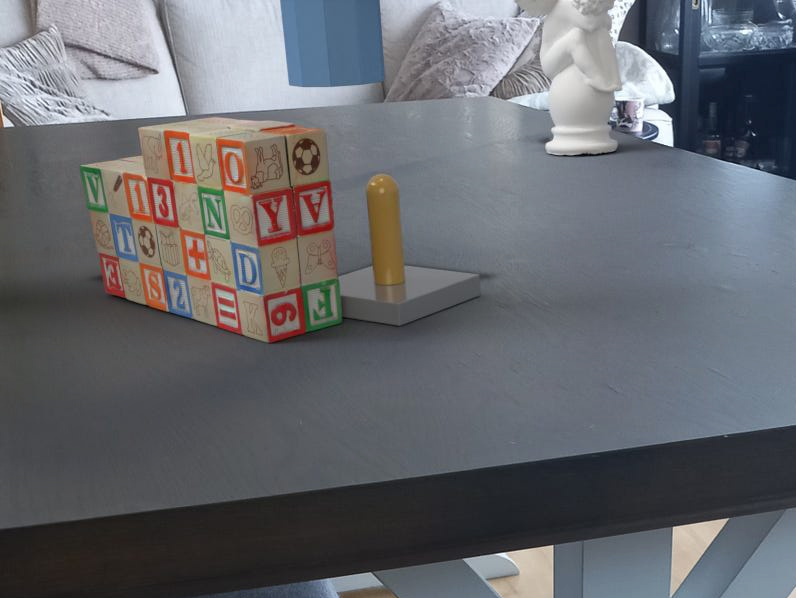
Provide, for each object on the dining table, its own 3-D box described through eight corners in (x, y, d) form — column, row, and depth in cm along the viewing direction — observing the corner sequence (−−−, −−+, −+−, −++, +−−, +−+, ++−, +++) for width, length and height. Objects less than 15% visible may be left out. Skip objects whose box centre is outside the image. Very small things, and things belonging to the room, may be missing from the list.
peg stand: (300, 310, 84) (285, 180, 80) (383, 282, 90) (374, 160, 86) (399, 326, 79) (389, 189, 75) (480, 295, 86) (475, 167, 81)
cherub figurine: (631, 154, 142) (634, -61, 131) (529, 163, 139) (524, -56, 129) (597, 142, 152) (597, -59, 141) (502, 150, 150) (495, -53, 139)
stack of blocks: (102, 295, 91) (68, 119, 85) (175, 279, 94) (147, 109, 88) (269, 344, 77) (243, 137, 71) (346, 322, 81) (327, 124, 75)
